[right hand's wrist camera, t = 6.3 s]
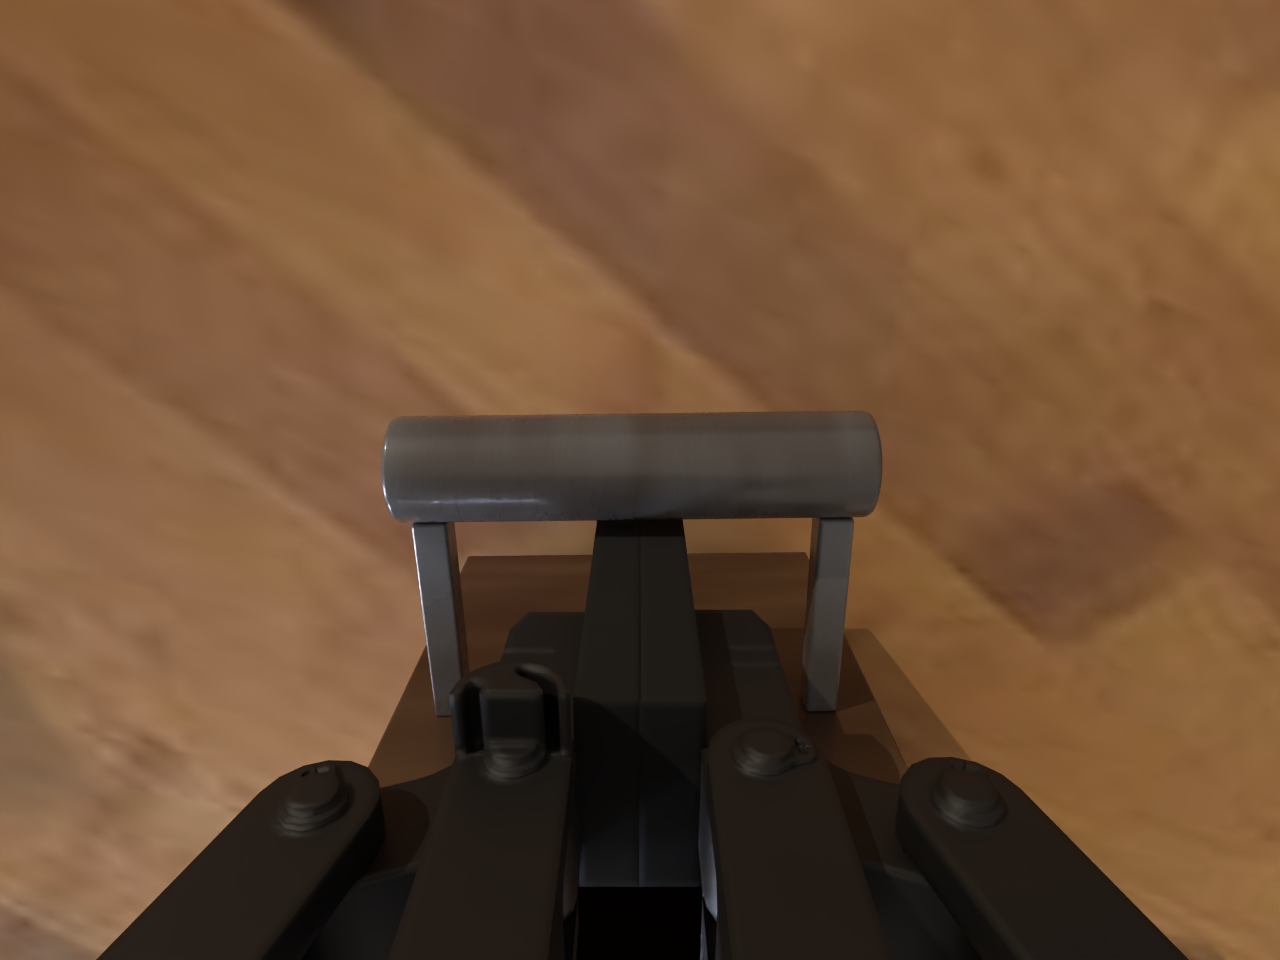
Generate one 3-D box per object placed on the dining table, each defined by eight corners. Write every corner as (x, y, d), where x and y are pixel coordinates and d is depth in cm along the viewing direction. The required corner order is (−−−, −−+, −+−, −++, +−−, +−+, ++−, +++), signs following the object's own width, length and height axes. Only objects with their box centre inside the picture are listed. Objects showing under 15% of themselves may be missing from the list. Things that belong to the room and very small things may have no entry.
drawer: (447, 346, 19) (286, 468, 10) (820, 341, 19) (973, 460, 10) (514, 1011, 27) (456, 1387, 18) (773, 1008, 27) (836, 1384, 18)
